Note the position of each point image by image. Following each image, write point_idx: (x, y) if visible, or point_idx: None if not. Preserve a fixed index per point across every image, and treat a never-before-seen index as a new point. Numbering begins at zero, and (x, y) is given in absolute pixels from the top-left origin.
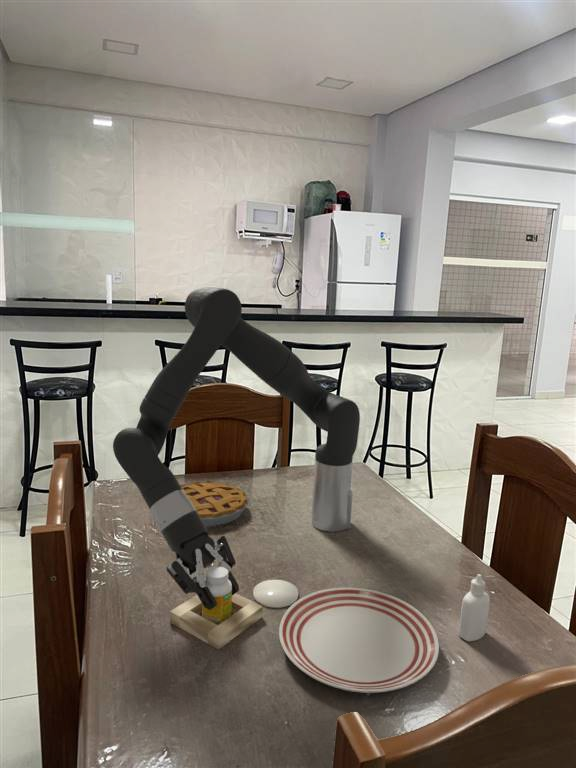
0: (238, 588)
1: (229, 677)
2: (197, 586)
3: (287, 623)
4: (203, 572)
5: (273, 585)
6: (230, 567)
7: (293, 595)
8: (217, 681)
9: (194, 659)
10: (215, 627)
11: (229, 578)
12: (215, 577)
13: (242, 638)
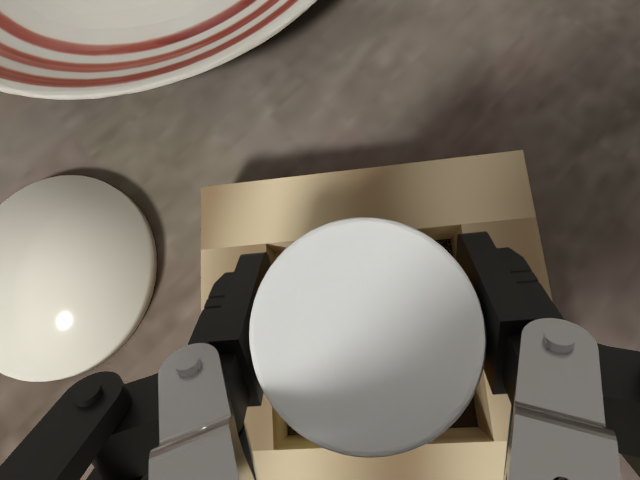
0: (244, 254)
1: (574, 35)
2: (600, 365)
3: (227, 42)
4: (524, 411)
5: (15, 316)
6: (162, 365)
7: (33, 200)
8: (625, 46)
9: (626, 195)
10: (481, 220)
11: (247, 313)
12: (450, 262)
13: (381, 160)
